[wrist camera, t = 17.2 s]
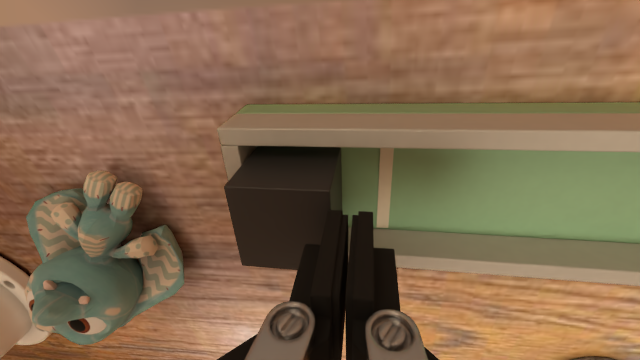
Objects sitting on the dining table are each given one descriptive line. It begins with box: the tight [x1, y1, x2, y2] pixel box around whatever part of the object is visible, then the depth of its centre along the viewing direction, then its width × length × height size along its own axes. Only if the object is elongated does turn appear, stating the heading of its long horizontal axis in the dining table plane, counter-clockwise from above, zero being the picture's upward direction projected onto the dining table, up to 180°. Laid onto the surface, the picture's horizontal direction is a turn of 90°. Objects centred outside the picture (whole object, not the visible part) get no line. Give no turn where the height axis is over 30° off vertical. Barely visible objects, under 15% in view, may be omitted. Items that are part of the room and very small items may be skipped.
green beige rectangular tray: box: [217, 102, 640, 286], centre depth 14 cm, size 22×7×4 cm, turn 93°
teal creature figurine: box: [24, 170, 184, 345], centre depth 19 cm, size 11×7×12 cm
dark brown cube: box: [224, 146, 342, 270], centre depth 14 cm, size 4×4×4 cm
